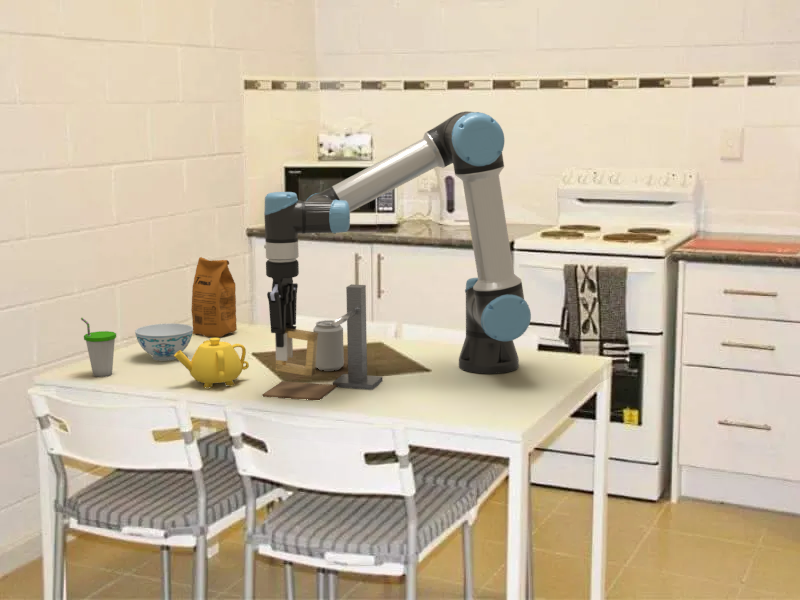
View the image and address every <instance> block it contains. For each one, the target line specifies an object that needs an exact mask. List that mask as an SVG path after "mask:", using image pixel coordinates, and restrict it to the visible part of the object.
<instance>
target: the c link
mask: <svg viewBox="0 0 800 600" xmlns="http://www.w3.org/2000/svg"><path fill="white" fill-rule="evenodd" d="M285 333H287V341H288V338H292V339H295V340H302V341H307V342H306V343H307V344H306V357H305V365H303V364H298V363H297V364H296V363H292V362H291V363H290V362H287V361H281V360H276V359H275V371H276V372H283V373H289V374H295V375H300V376H307V377H313V376H314V375H315V374H316V353H317V340H318V333H317V332H313V331H310V330H309V331H308V330H303V329H297V328H296V329H291V328H286V330H285Z"/></svg>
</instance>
